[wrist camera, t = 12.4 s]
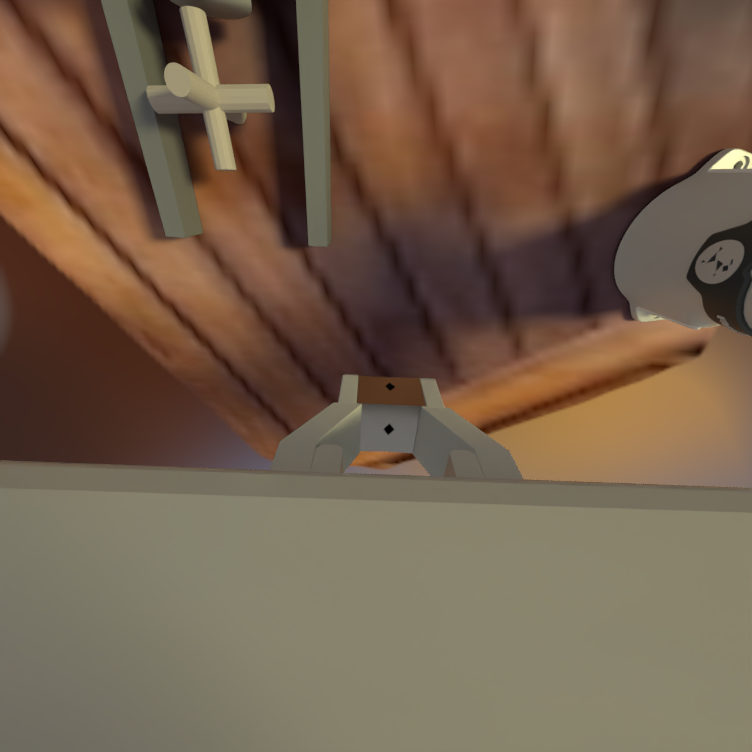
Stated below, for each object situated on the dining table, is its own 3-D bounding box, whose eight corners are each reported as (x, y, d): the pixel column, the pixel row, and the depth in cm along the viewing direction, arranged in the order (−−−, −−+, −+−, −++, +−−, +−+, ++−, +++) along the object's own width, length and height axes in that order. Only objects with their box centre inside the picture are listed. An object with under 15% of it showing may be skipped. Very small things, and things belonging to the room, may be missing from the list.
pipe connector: (202, 173, 33) (136, 166, 24) (170, 41, 28) (72, -27, 19) (294, 173, 33) (261, 165, 24) (279, 39, 27) (229, -30, 19)
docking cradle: (326, -92, 24) (300, -246, 15) (331, 241, 36) (318, 258, 28) (101, -116, 23) (-56, -290, 15) (185, 231, 36) (127, 245, 27)
